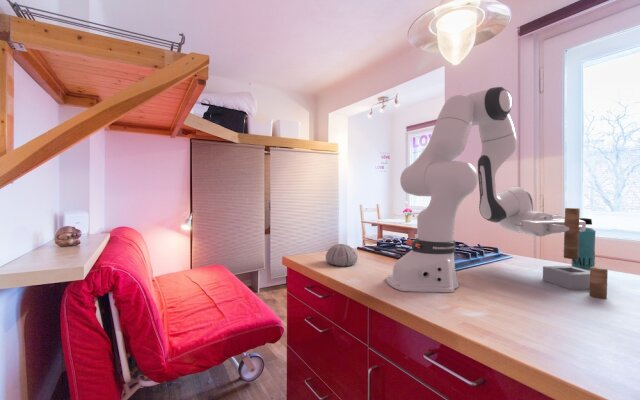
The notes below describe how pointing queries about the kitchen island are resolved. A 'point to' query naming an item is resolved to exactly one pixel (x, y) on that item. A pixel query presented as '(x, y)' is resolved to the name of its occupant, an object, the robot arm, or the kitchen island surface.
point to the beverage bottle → (586, 248)
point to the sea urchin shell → (341, 255)
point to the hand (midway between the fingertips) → (574, 228)
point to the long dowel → (571, 233)
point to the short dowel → (598, 282)
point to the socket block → (567, 276)
